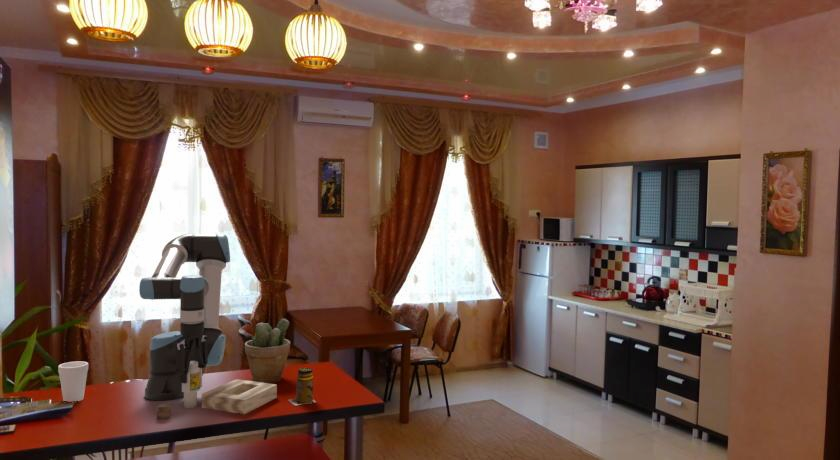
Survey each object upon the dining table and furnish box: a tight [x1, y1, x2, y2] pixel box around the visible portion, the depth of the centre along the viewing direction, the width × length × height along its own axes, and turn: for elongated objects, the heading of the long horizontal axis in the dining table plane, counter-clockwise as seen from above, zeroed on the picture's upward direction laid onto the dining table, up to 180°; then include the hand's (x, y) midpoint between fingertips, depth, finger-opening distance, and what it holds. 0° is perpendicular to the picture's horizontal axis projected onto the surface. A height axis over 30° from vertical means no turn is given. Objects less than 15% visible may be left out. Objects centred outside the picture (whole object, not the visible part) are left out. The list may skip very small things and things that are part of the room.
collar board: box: [201, 378, 278, 415], centre depth 222 cm, size 18×20×5 cm
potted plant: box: [244, 318, 291, 384], centre depth 251 cm, size 18×19×25 cm
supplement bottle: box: [184, 361, 201, 393], centre depth 205 cm, size 5×5×10 cm
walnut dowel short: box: [156, 403, 172, 420], centre depth 205 cm, size 4×4×4 cm
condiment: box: [288, 367, 317, 406], centre depth 224 cm, size 7×8×12 cm
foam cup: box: [57, 360, 89, 403], centre depth 221 cm, size 10×9×13 cm
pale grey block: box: [183, 391, 198, 409], centre depth 217 cm, size 4×4×5 cm
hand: (192, 389), depth 205 cm, fingers closed on supplement bottle, 5 cm apart
